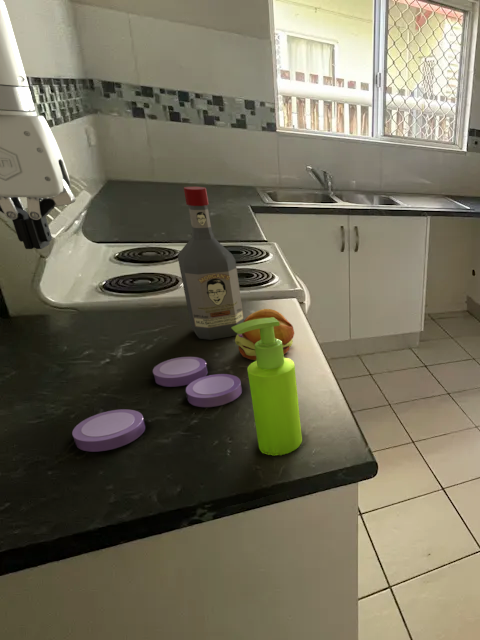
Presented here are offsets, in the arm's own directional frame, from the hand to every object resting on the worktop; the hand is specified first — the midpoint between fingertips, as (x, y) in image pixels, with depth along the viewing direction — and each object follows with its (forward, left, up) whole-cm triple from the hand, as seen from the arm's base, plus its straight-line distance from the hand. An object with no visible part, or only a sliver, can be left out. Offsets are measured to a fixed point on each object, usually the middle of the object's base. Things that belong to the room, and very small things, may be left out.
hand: (38, 246), depth 66 cm
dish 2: (+12, +5, -25) cm, 28 cm away
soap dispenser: (+28, -20, -25) cm, 43 cm away
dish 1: (+6, -11, -25) cm, 28 cm away
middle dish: (+18, -3, -25) cm, 31 cm away
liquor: (+16, +25, -25) cm, 39 cm away
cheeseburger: (+26, +12, -25) cm, 38 cm away
